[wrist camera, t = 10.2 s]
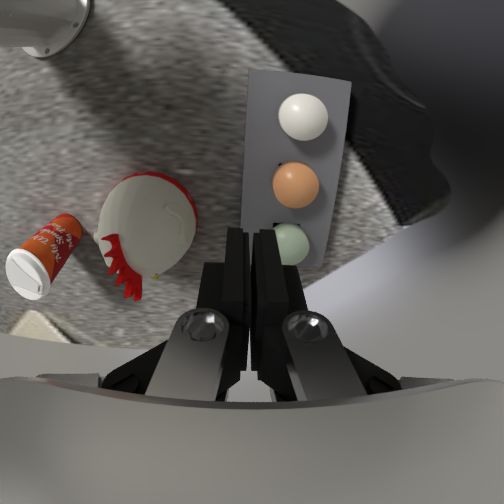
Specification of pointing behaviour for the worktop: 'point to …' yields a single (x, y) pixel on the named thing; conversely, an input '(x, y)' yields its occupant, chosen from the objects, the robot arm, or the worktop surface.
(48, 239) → the paper cup
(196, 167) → the worktop surface
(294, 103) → the button ivory
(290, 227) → the button sage
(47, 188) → the worktop surface
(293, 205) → the button terracotta
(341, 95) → the console
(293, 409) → the robot arm
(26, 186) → the worktop surface
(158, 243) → the white rounded crested piece
